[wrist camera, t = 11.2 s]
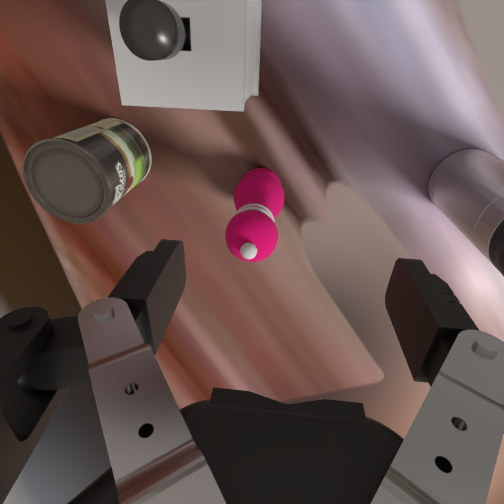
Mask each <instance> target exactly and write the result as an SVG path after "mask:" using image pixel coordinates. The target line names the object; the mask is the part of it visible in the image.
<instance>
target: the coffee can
mask: <svg viewBox="0 0 504 504" xmlns="http://www.w3.org/2000/svg"><path fill="white" fill-rule="evenodd" d="M151 163H152V156H151V151H150V147H149V145H148V143H147V141H146V139H145V137H144V136H143V135H142V133H141V132H140V131H139V130H138V129H137V128H135V127H134V126H133V125H131V124H130V123H128V122H126V121H124V120H121V119H116V118H107V119H103V120H100V121H98V122H96V123H93V124H90V125H87V126H85V127H82V128H79V129H76V130H73V131H70V132H68V133H65V134H62V135H59V136H56V137H53V138H48V139H44V140H41V141H38V142H37V143H35V144H33V145H32V146H31V147H30V148H29V149H28V151H27V152H26V154H25V157H24V160H23V176H24V180H25V183H26V185H27V187H28V189H29V191H30V193H31V194H32V196H33V197H34V199H35V200H36V201H37V202H38V203H39V204H40V205H41V206H42V207H43V208H44V209H45V210H46V211H47V212H49V213H50V214H52V215H53V216H55V217H57V218H59V219H61V220H64V221H67V222H70V223H76V224H86V223H91V222H93V221H96V220H98V219H99V218H100V217H102V216H103V215H104V214H105V213H106V212H107V210H108V209H109V208H110V207H111V206H112V205H114V204H115V203H116V202H117V201H118V200H119V199H120V198H122V197H123V196H124V195H125V194H126V193H127V192H129V191H130V190H131V189H132V188H133V187H135V186H136V185H137V184H138V183H139V182H141V181H142V180H143V179H144V178H145V177H146V176H147V175H148V173H149V171H150V168H151Z"/></svg>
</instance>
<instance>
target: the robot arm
mask: <svg viewBox="0 0 504 504" xmlns="http://www.w3.org/2000/svg"><path fill="white" fill-rule="evenodd" d="M428 193H429V197H430V198H431V200H432V202H433V203H434V204H435V205H436V206H437V207H438V208H439V209H440V210H441V211H442V212H443V213H444V214H445V216H446V217H447V218H448V219H449V220H450V221H451V222H452V223H453V224H454V225H455V226H456V227H457V228H458V229H459V230H460V231H461V232H462V233H463V234H464V235H465V236H466V237H467V238H468V239H469V240H470V241H471V243H472V244H473V245H474V246H475V247H476V248H477V249H478V250H479V251H480V252H481V253H482V254H483V255H484V256H485V257H486V258H487V259H488V260H489V261H490V262H491V263H492V264H493V265H494V266H495V267H496V268H497V269H498V270H499V271H500V272H501V273H502V275H503V276H504V161H503V160H501V159H499V158H497V157H495V156H493V155H491V154H489V153H487V152H485V151H482V150H479V149H466V150H461V151H458V152H455V153H454V154H452V155H450V156H448V157H447V158H445V159H444V160H443V161H441V162H440V163H439V164H438V165H437V167H436V168H435V169H434V171H433V172H432V174H431V177H430V179H429V183H428ZM185 282H186V269H185V258H184V247H183V242H182V241H178V240H165V239H162V240H161V241H160V242H159V244H158V245H157V247H156V248H155V250H154V251H146V252H145V253H143V254H142V255H140V256H138V257H137V258H136V259H135V261H134V262H133V263H132V265H131V266H130V268H129V269H128V270H127V271H126V273H125V275H124V276H123V277H122V278H121V280H120V281H119V282H118V284H117V285H116V286H115V288H114V289H113V291H112V292H111V293H110V295H109V296H108V297H107V298H102V299H99V300H96V301H93V302H91V303H90V304H88V305H86V306H85V307H84V308H83V309H82V310H81V311H80V313H79V315H78V316H72V317H65V318H58V319H50V317H49V315H48V312H47V311H46V310H45V309H43V308H40V307H26V308H21V309H18V310H15V311H12V312H10V313H8V314H6V315H5V316H3V317H2V318H0V504H3V502H4V500H5V499H6V497H7V495H8V493H9V491H10V490H11V488H12V487H13V485H14V483H15V481H16V480H17V478H18V476H19V474H20V473H21V471H22V469H23V468H24V466H25V464H26V462H27V461H28V459H29V457H30V455H31V454H32V452H33V450H34V448H35V447H36V445H37V443H38V441H39V440H40V438H41V436H42V435H43V433H44V431H45V429H46V428H47V426H48V424H49V422H50V421H51V419H52V417H53V416H54V414H55V412H56V410H57V409H58V407H59V405H60V403H61V402H62V400H63V398H64V396H65V395H66V393H67V391H68V390H69V388H70V387H75V386H81V385H86V384H92V387H93V391H94V395H95V400H96V404H97V408H98V412H99V416H100V420H101V424H102V429H103V433H104V437H105V441H106V446H107V450H108V454H109V458H110V462H111V467H110V468H109V469H107V470H106V471H105V472H104V473H103V474H101V475H100V476H99V477H98V478H97V479H96V480H95V481H93V482H92V483H91V484H90V485H89V486H87V487H86V488H85V489H84V490H83V491H82V492H80V493H79V494H78V495H77V496H76V497H75V498H73V499H72V500H71V501H70V502H69V503H68V504H485V503H486V499H487V496H488V492H489V488H490V484H491V480H492V476H493V472H494V468H495V464H496V460H497V456H498V453H499V449H500V445H501V441H502V437H503V433H504V342H503V341H501V340H500V339H498V338H497V337H495V336H493V335H491V334H488V333H486V332H483V331H479V329H478V328H477V326H476V325H475V323H474V322H473V320H472V319H471V318H470V316H469V315H468V313H467V312H466V310H465V309H464V307H463V306H462V304H460V302H459V300H458V299H457V297H456V296H454V293H453V291H452V290H451V288H450V287H449V286H448V284H447V283H446V282H444V281H443V280H442V279H441V278H439V277H438V276H437V275H435V274H430V272H429V271H428V269H427V268H426V266H425V265H424V263H423V262H422V260H417V259H404V258H399V259H397V260H396V262H395V265H394V268H393V271H392V275H391V278H390V281H389V284H388V287H387V290H386V295H385V305H386V309H387V311H388V314H389V317H390V319H391V322H392V324H393V327H394V329H395V332H396V335H397V337H398V340H399V343H400V345H401V348H402V350H403V353H404V356H405V358H406V361H407V364H408V366H409V369H410V371H411V374H412V376H413V379H414V381H418V382H428V383H429V384H430V386H431V388H430V390H429V392H428V394H427V396H426V398H425V400H424V402H423V404H422V406H421V408H420V410H419V411H418V413H417V415H416V417H415V419H414V421H413V423H412V425H411V427H410V429H409V431H408V433H407V435H406V436H405V438H404V439H403V438H402V437H401V436H399V435H398V434H397V433H395V432H394V431H393V430H391V429H390V428H389V427H387V426H385V425H383V424H382V423H380V422H378V421H376V420H374V419H372V418H369V417H366V416H365V412H364V407H363V403H356V402H345V401H336V400H327V399H324V400H316V401H309V402H302V403H295V404H284V403H281V402H278V401H275V400H272V399H270V398H267V397H264V396H261V395H258V394H255V393H253V392H250V391H241V390H232V389H222V388H213V391H212V395H211V399H209V400H203V401H200V402H196V403H193V404H191V405H188V406H186V407H184V408H182V409H180V410H179V408H178V406H177V404H176V401H175V399H174V397H173V395H172V393H171V390H170V388H169V386H168V384H167V382H166V380H165V377H164V375H163V373H162V371H161V369H160V367H159V364H158V362H157V360H156V358H155V356H154V354H155V355H156V352H157V350H158V348H159V346H160V343H161V341H162V339H163V336H164V334H165V332H166V330H167V327H168V325H169V323H170V320H171V318H172V316H173V313H174V311H175V309H176V307H177V304H178V302H179V300H180V297H181V295H182V293H183V291H184V288H185Z"/></svg>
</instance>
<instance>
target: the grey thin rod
mask: <svg viewBox="0 0 504 504" xmlns="http://www.w3.org/2000/svg"><path fill="white" fill-rule="evenodd" d="M119 28H120V33H121V36H122V39H123V41H124V43H125V45H126V46H127V48H128V49H129V50H130V51H131V52H132V53H133V54H134V55H135V56H137V57H138V58H140V59H143V60H147V61H155V60H168V59H171V58H173V57H175V56H176V55H177V54H178V53H179V52H180V51H191V32H190V18H181V17H180V16H179V14H178V13H177V11H176V10H175V9H174V8H173V7H172V6H170V5H169V4H167V3H165V2H162V1H160V0H128V1H127V2H126V3H125V4H124V6H123V7H122V10H121V12H120V17H119Z"/></svg>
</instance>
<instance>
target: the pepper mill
mask: <svg viewBox="0 0 504 504" xmlns="http://www.w3.org/2000/svg"><path fill="white" fill-rule="evenodd" d="M234 203H235V207H236V209H237V213H236V215H235V216H234V217H233V218H232V219H231V220H230V222H229V223H228V225H227V228H226V235H225V238H226V243H227V246H228V248H229V250H230V251H231V253H232V254H233V255H234V256H236V257H237V258H239V259H241V260H243V261H247V262H256V261H260V260H263V259H265V258H267V257H268V256H269V255H270V254H271V253H272V252H273V250H274V249H275V247H276V244H277V240H278V231H277V228H276V225H275V221H274V218H276V217H277V215H278V214H279V213H280V211H281V209H282V207H283V203H284V191H283V188H282V186H281V182H280V180H279V178H278V176H277V175H276V174H275V173H274V172H273V171H271V170H269V169H266V168H256V169H253V170H251V171H249V172H248V173H247V174H246V175H245V176H244V178H243V179H242V180H241V181H240V182H239V183H238V185H237V186H236V189H235V194H234Z"/></svg>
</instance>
